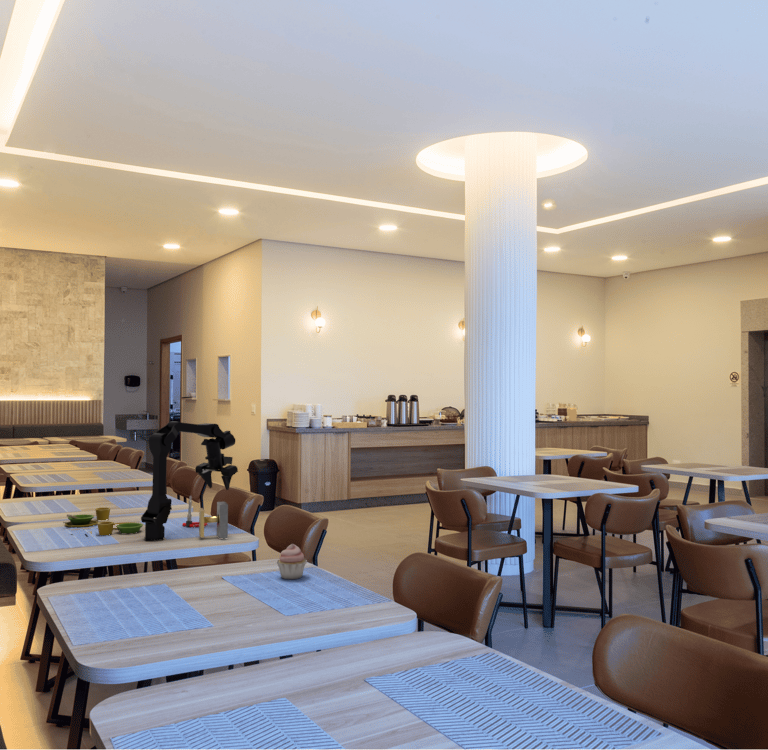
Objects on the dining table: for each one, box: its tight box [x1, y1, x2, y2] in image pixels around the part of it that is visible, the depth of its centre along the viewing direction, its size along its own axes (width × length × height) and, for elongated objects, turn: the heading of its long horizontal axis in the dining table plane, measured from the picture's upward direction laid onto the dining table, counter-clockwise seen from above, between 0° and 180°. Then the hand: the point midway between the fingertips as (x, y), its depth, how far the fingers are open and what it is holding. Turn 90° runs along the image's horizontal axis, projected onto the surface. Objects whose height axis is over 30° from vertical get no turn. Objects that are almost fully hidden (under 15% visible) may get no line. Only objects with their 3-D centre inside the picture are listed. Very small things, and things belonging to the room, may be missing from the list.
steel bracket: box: [216, 501, 229, 539], centre depth 272 cm, size 3×8×13 cm, turn 21°
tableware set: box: [62, 507, 144, 536], centre depth 290 cm, size 41×28×6 cm
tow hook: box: [182, 495, 208, 529], centre depth 296 cm, size 8×13×9 cm
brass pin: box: [198, 507, 219, 538], centre depth 271 cm, size 10×6×10 cm, turn 111°
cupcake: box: [276, 543, 308, 580], centre depth 214 cm, size 9×9×10 cm
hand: (219, 488), depth 296 cm, fingers open, 9 cm apart
